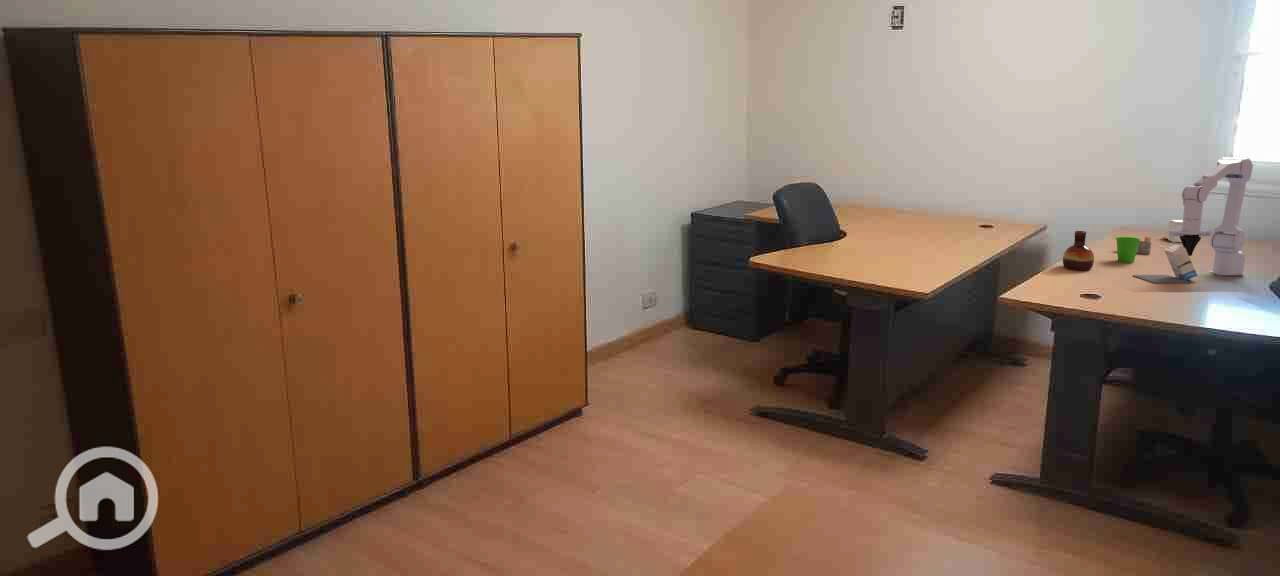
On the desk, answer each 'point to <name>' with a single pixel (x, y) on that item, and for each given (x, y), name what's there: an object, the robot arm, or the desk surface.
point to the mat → (1160, 279)
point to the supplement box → (1174, 226)
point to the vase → (1078, 254)
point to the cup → (1127, 248)
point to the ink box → (1180, 262)
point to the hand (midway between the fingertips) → (1188, 255)
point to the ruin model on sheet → (1144, 246)
